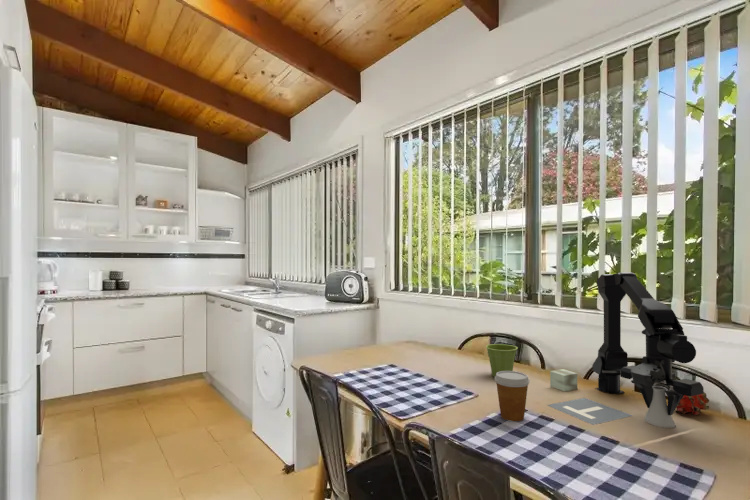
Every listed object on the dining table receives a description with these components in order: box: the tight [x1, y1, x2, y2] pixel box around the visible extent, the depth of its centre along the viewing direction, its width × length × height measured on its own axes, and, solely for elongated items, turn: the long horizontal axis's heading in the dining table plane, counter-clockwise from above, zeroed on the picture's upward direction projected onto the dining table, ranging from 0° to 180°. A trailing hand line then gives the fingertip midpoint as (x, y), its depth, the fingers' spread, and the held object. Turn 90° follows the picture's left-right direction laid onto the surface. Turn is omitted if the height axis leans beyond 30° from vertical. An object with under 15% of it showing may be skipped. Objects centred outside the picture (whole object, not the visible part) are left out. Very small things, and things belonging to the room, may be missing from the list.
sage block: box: [549, 368, 578, 392], centre depth 140 cm, size 6×6×6 cm
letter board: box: [547, 397, 634, 426], centre depth 119 cm, size 16×16×1 cm
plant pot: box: [485, 343, 519, 378], centre depth 155 cm, size 12×12×11 cm
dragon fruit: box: [674, 391, 710, 416], centre depth 118 cm, size 8×8×12 cm
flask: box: [644, 385, 677, 429], centre depth 110 cm, size 7×7×10 cm
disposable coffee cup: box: [494, 370, 531, 422], centre depth 116 cm, size 10×10×12 cm
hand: (659, 411), depth 110 cm, fingers closed on flask, 5 cm apart
